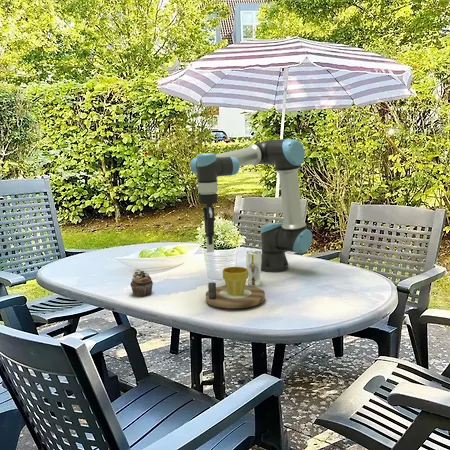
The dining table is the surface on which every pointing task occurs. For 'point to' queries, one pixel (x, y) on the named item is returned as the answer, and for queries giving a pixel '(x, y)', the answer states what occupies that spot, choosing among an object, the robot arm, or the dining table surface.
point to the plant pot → (235, 279)
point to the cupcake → (141, 284)
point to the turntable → (234, 297)
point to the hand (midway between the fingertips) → (210, 251)
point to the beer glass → (254, 267)
